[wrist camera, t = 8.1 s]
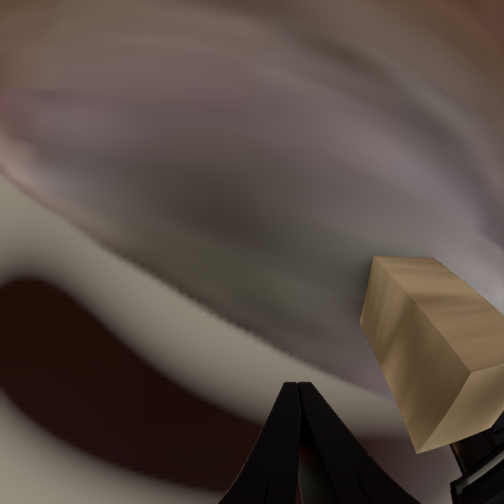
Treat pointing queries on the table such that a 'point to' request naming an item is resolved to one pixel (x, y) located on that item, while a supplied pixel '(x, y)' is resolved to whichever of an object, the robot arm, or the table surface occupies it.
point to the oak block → (435, 348)
